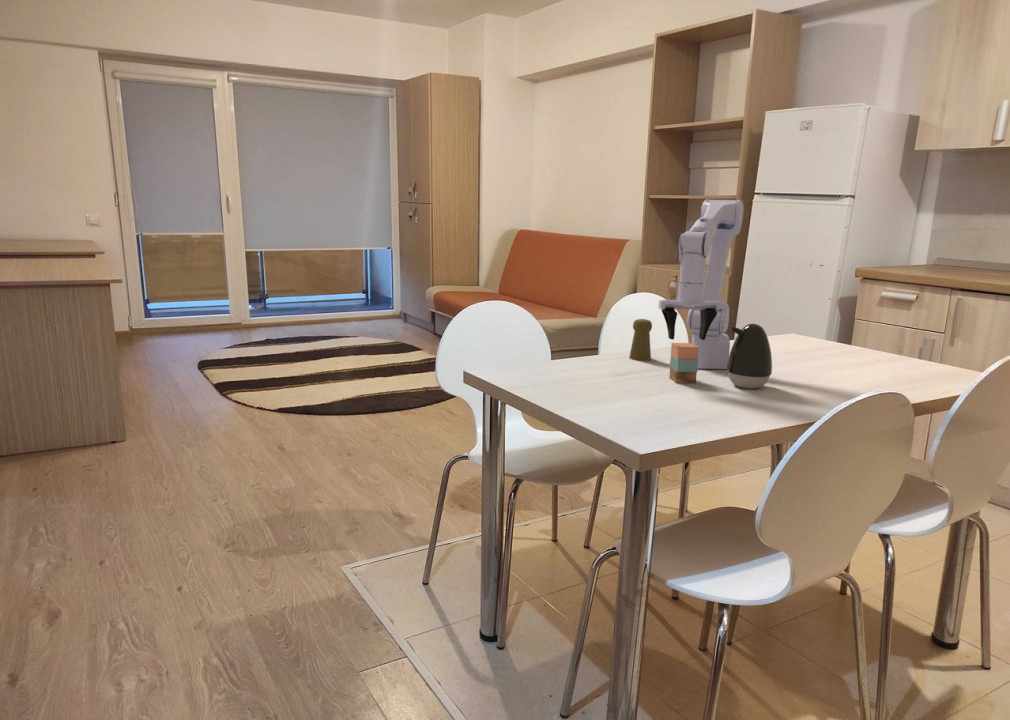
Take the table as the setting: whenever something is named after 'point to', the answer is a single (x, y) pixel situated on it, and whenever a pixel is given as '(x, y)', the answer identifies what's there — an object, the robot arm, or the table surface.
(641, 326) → the olive upright rounded piece
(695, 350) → the orange block
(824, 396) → the table surface
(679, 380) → the walnut slab
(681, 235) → the robot arm
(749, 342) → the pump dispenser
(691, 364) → the teal slab
